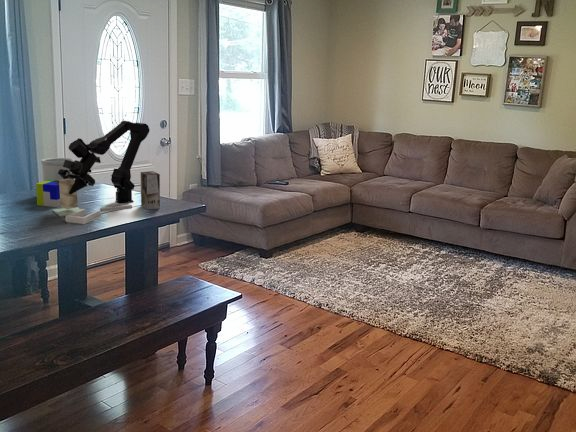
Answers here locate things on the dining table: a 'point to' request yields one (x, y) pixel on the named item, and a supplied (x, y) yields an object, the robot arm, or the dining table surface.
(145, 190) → the coffee box
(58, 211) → the mat
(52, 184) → the puzzle toy
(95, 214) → the channel
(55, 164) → the utensil holder
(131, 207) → the rod
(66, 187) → the block
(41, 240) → the dining table surface
